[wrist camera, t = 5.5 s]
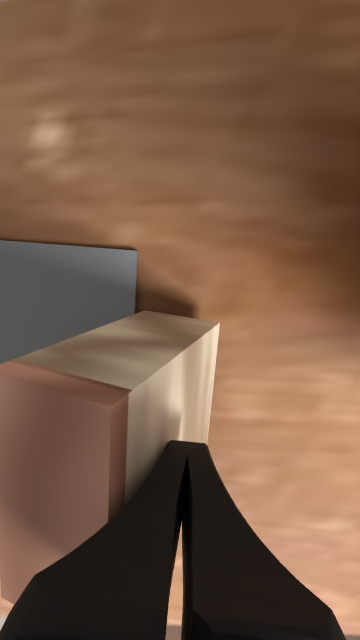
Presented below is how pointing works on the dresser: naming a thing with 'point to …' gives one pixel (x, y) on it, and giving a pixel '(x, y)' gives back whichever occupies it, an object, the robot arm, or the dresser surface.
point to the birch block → (93, 430)
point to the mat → (60, 293)
